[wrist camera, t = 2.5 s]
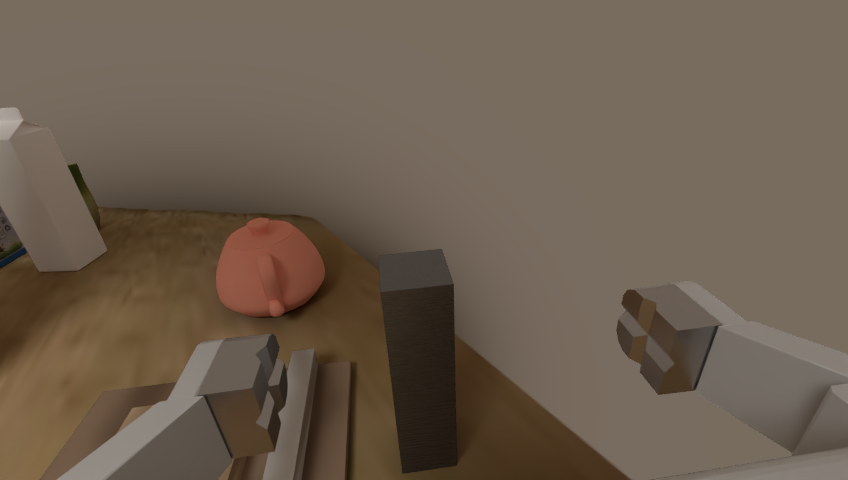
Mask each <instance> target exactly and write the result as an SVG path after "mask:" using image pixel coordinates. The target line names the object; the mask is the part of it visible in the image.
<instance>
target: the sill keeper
mask: <svg viewBox="0 0 848 480" xmlns="http://www.w3.org/2000/svg"><path fill="white" fill-rule="evenodd" d="M286 372H287V379H288V391H287V399H286V404H285V407H284V408H283V409H282V410H281V411H280V412H279V413H278V415H279V418H280V421H281V427H280V431H279V436H278V440H277V445H276V449H275V452H269V453H263V454H258V455H252V456H246V457H241V458H235V459H232V463H231V464H230V465H229V466H228V468H227V469H226V470H225V471H224V473H223V474H222V475H221V476H220V478H219V479H218V480H347V468H348V445H349V422H350V399H351V377H352V366H351V361H342V362H334V363H326V364H319V365H318V362H317V357H316V353H315V349H305V350H297V351H292V354H291V358H290V362H289V367H288V368H287V369H286ZM176 383H177V382H176ZM176 383H168V384H160V385H152V386H144V387H136V388H128V389H121V390H113V391H105V392H103V393H102V394H101V395H100V397H99V398H98V400H97V401H96V402H95V404H94V405H93V407H92V408H91V409H90V411H89V412H88V413H87V415H86V416H85V418H84V419H83V420H82V422H81V423H80V425H79V426H78V427H77V429H76V430H75V431H74V433H73V434H72V436H71V437H70V438H69V440H68V441H67V443H66V444H65V445H64V447H63V448H62V449H61V451H60V452H59V454H58V455H57V456H56V458H55V459H54V461H53V462H52V463H51V465H50V466H49V467H48V469H47V470H46V472H45V473H44V474H43V476H42V477H41V478H40V480H57V479H58V478H59V477H61V476H62V475H63V474H65V473H66V472H67V471H69V470H70V469H71V468H73V467H74V466H75V465H77V464H78V463H79V462H80V461H82V460H83V459H84V458H86V457H87V456H88V455H90V454H91V453H92V452H94V451H95V450H96V449H98V448H99V447H100V446H102V445H103V444H104V443H105V442H107V441H108V440H109V439H111V438H112V437H113V436H115V435H116V434H117V433H119V432H120V431H121V430H123V429H124V428H125V427H127V426H128V425H129V424H130V423H132V422H133V421H134V420H136V419H137V418H138V417H140V416H141V415H142V414H144V413H145V412H146V411H148V410H149V409H150V408H152V407H153V406H154V405H155V404H157V403H158V402H161V401H167V399H168V398H169V396H170V394H171V392H172V390H173V389H174V387H175V385H176Z"/></svg>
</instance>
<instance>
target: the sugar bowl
mask: <svg viewBox="0 0 848 480" xmlns="http://www.w3.org/2000/svg"><path fill="white" fill-rule="evenodd" d="M324 276H325V267H324V263H323V261H322V258H321V256H320V254H319V252H318V250H317V249H316V247H315V246H314V245H313V243H312V242H311V241H310V240H309V239H308V238H307V237H306V236H305V235H304V234H303V233H302V232H301V231H300V230H299V229H297V228H296V227H295V226H293V225H292V224H290V223H288V222H285V221H280V220H269V219H268V218H256V219H253V220H251V221H249V222H248V223H247V224H246V226H244V227H242V228H240V229H238V230H236V231H235V232H233V233H232V234H231V235H230V236H229V237H228V239H227V241H226V243H225V245H224V248H223V250H222V253H221V256H220V259H219V262H218V266H217V272H216V286H217V292H218V296H219V299H220V300H221V302H222V303H223V304H224V305H225V306H226V307H227V308H229V309H231V310H233V311H235V312H238V313H241V314H244V315H247V316H251V317H267V316H273V317H279V316H281V315H282V314H283V313H285V312H288V311H291V310H293V309H295V308H297V307H299V306H301V305H304V304H305V303H307V301H308V300H309V299H310V298H311V297H312V296H313V295H314V294H315V293H316V291H317V290H318V289H319V287H320V286H321V284H322V282H323V280H324Z"/></svg>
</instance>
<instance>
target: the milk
mask: <svg viewBox="0 0 848 480" xmlns="http://www.w3.org/2000/svg"><path fill="white" fill-rule="evenodd" d="M0 206H1V208H2V209H3V211H4V213H5V214H6V216H7V218H8V220H9V221H10V223H11V225H12V226H13V228H14V230H15V231H16V233H17V235H18V237H19V238H20V240H21V242H22V243H23V245H24V247H25V249H26V250H27V252H28V254H29V255H30V257H31V259H32V260H33V262H34V264H35V266H36V267H37V269H38V271H39V272H52V271H79V270H80V269H82V268H83V267H85V266H86V265H88V264H89V263H90V262H92V261H93V260H95V259H96V258H98V257H99V256H101V255H102V254H103V253H105V252H106V251H108V250H107V248H106V245H105V243H104V241H103V239H102V237H101V235H100V233H99V231H98V229H97V227H96V224H95V222H94V220H93V218H92V216H91V214H90V212H89V210H88V208H87V206H86V204H85V201H84V199H83V197H82V195H81V193H80V191H79V189H78V187H77V185H76V183H75V181H74V178H73V176H72V174H71V172H70V170H69V168H68V166H67V164H66V162H65V160H64V158H63V156H62V153H61V151H60V149H59V147H58V145H57V143H56V141H55V139H54V137H53V135H52V132H51V130H50V129H49V128H47V127H44V126H41V125H38V124H35V123H32V122H29V121H26V120H24V119H23V117H22V115H21V113H20V111H19V110H18V109H17V108H0Z"/></svg>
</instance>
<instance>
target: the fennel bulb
mask: <svg viewBox="0 0 848 480" xmlns="http://www.w3.org/2000/svg"><path fill="white" fill-rule="evenodd" d="M67 166H68V168H69V170H70V172H71V174H72V176H73V178H74V181H75V183H76V185H77V187H78V189H79V191H80V193H81V195H82V197H83V199H84V201H85V204H86V206H87V208H88V210H89V212H90V214H91V216H92V218H93V220H94V222H95V224H96V227H97V228H98V227H100V215H99V211H98V208H97V205H96V203H95V200H94V198H93V197H92V195H91V193H90V191H89V189H88V188H87V186H86V184H85V182H84V180H83V178H82V175H81V173H80V170H79V167H78V165H77V164H76V163H72V164H68V165H67Z"/></svg>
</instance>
